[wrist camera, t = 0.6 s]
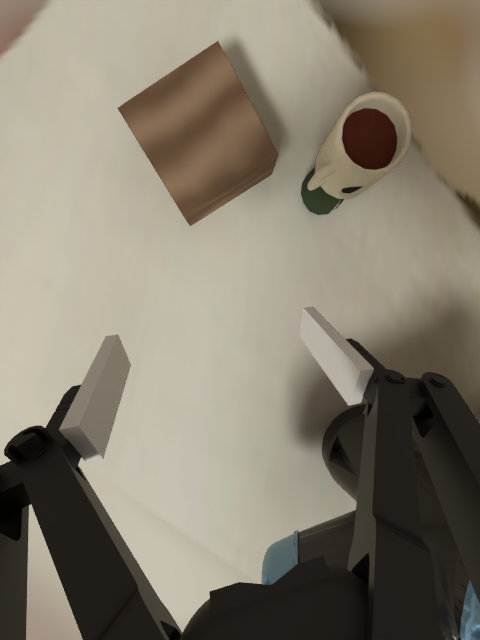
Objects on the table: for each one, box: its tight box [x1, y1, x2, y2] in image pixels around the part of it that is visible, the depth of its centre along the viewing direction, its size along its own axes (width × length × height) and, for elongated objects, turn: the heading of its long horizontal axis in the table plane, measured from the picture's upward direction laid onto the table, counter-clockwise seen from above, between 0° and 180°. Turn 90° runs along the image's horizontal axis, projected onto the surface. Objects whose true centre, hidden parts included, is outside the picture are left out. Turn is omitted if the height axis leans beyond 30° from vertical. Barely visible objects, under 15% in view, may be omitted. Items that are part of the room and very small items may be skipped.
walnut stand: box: [118, 41, 278, 226], centre depth 30 cm, size 14×14×5 cm
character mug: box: [301, 91, 412, 215], centre depth 27 cm, size 11×7×13 cm, turn 122°
